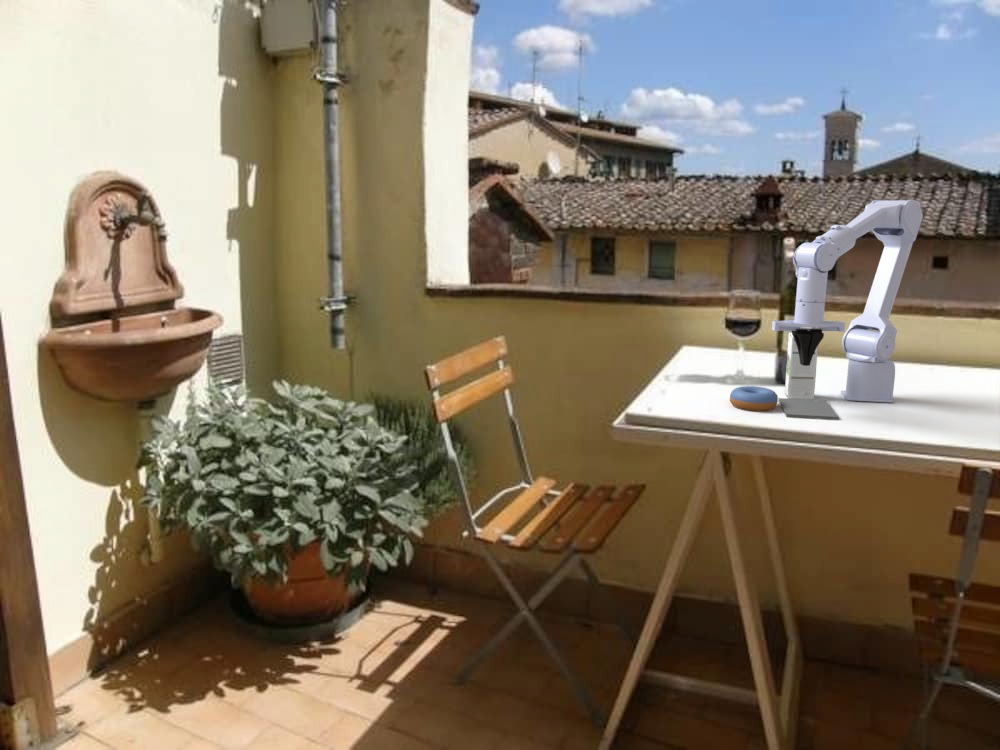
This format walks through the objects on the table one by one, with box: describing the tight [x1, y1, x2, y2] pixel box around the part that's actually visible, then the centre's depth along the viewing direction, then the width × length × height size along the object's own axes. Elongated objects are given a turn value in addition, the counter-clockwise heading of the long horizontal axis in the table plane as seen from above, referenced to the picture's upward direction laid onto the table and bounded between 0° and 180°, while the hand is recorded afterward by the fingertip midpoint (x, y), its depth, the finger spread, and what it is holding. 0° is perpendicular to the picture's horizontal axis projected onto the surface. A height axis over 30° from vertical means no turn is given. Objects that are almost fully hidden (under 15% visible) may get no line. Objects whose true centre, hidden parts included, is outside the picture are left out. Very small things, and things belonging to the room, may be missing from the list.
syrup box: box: [784, 332, 819, 400], centre depth 178 cm, size 6×6×14 cm
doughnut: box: [729, 385, 779, 412], centre depth 170 cm, size 10×10×5 cm
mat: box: [778, 397, 839, 420], centre depth 168 cm, size 10×14×1 cm
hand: (804, 364), depth 167 cm, fingers closed
